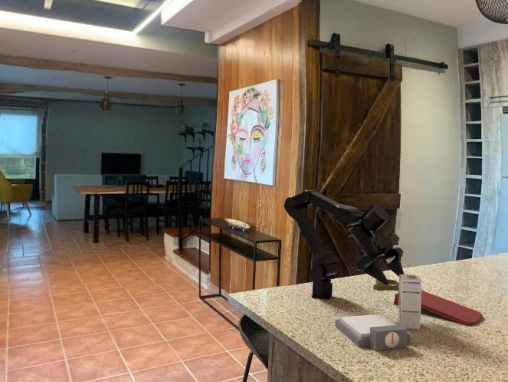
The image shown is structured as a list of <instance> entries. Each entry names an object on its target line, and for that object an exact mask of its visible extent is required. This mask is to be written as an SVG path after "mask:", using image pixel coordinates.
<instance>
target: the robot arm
mask: <svg viewBox="0 0 508 382" xmlns="http://www.w3.org/2000/svg"><path fill="white" fill-rule="evenodd" d="M311 205H314V206H316V207H317V208H320V209H321V210H323V211H325V212H326V213H328V214H330V215H331V216H333V219H334V220H335V221H336V222H337V223H339V224H340V225H341V226H344V227H347V226H351V228H347V229H346V233H345V238H351V237H352V238H354V240H355V242H357V244H358V245H359V247H358V251H360V252H363V254H362V255H361V256H360V257H358V258H357V260H355V262H354V267H355V268H356V270H357V271H358V272H360V271H361V273H363V274H366V275H368V276H370V277H372V278H374V279H375V280H376V279H377V280H378V281H380V282H382V283H383V284H385V285H388V284H389V282H388V280H387V279H388V278H387V277H386V275H385V274H384V272H383V270H382V269H381V268H382V267H380V262H382V261H383V263H384V264H385V266H386V268H388V269H389V270H390V271H391V272H393V273H394V274H395V275H396V276H397V277H398V278H399V274H401V275H402V274H405V272H404V268H403V265H402V262H401V261H402V257H403V256H404V255H403V254H404V253H405V252H404V251H403V249H402V248H401V247H400V246H399V247H398V245H400V243H399V242H400V239H401V238H400V236H398V234H397V233H396V232H390V233H388V234H387V236H384V237H381V236H376V235H375V234H374V233H373V232H377V231H378V230H379V229H380V228H381V227H382V226H383V225H385V223H387V222H388V220H390V215H389V213H388V212H387V211H386V210H385V209H383V208H382V207H380V206H378V205H377V203H376V204H375V203H372V204H370V206H369V207H368V208H367V209H366V210H365V211H364V212H363V211H361V210H360V209H359V207H355V206H351V205H347V204H342V203H339V202H338V201H335V200H334V199H331V198H329V197H328V196H325V195H323V194H321V193H320V192H318V191H317V190H315V189H306V190H304V191H303V192H300V193H298V194H296V195H293V196H289V197H287V198H285V200H284V204H283V207H284V210H285V211H286V213H287V214H288V216H289V217H290V218H291V219H292V220H295V222H296V223H297V226H298V228H299V230H300V232H301V234H302V236H303V238H304V240H305V242H306V245H307V246H308V248H309V250H310V253H311V255H312V261H311V262H312V263H311V264H312V266H313V268H312V269H310V271H309V272H308V273H307V275H308V279H309V280H310V281H312V291H311V292H312V293H311V298H316V299H324V300H330V299H331V297H332V296H333V287H334V285H333V282H332V280H333V279H335V278H336V276H337V273H338V272H339V269H340V266H339V262H340V261H339V260H338V258H337V256H336V255H335V252H334V251H328V250H326V248H325V246H324V243H323V242H322V240H321V238H320V237H319V234H318V232H317V230H316V228H315V227H314V223H312V220H311V219H310V217H309V209H310V208H309V206H311ZM393 246H395V247H393ZM389 285H390V284H389Z"/></svg>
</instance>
